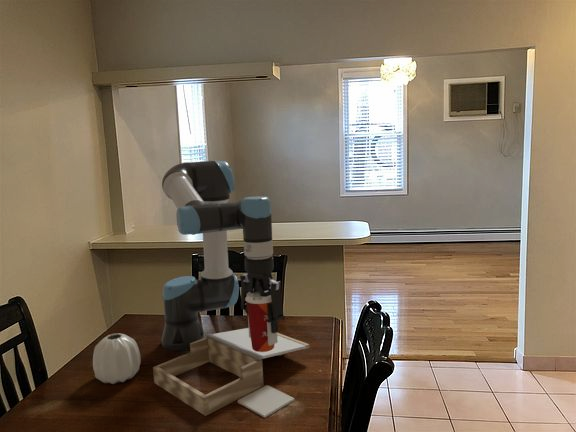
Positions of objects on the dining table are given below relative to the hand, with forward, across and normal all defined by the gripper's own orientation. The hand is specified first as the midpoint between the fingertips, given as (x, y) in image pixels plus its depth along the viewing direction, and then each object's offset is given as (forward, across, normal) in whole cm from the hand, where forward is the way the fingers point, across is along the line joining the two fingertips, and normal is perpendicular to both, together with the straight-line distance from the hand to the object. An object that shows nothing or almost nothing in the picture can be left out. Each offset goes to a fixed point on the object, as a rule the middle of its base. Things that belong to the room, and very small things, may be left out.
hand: (263, 339), depth 125 cm
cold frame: (+18, -20, -5) cm, 27 cm away
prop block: (+18, -20, +23) cm, 35 cm away
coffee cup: (+2, 0, 0) cm, 2 cm away
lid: (+14, -20, +15) cm, 29 cm away
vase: (+18, -45, -21) cm, 53 cm away
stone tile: (+18, 0, 0) cm, 18 cm away
